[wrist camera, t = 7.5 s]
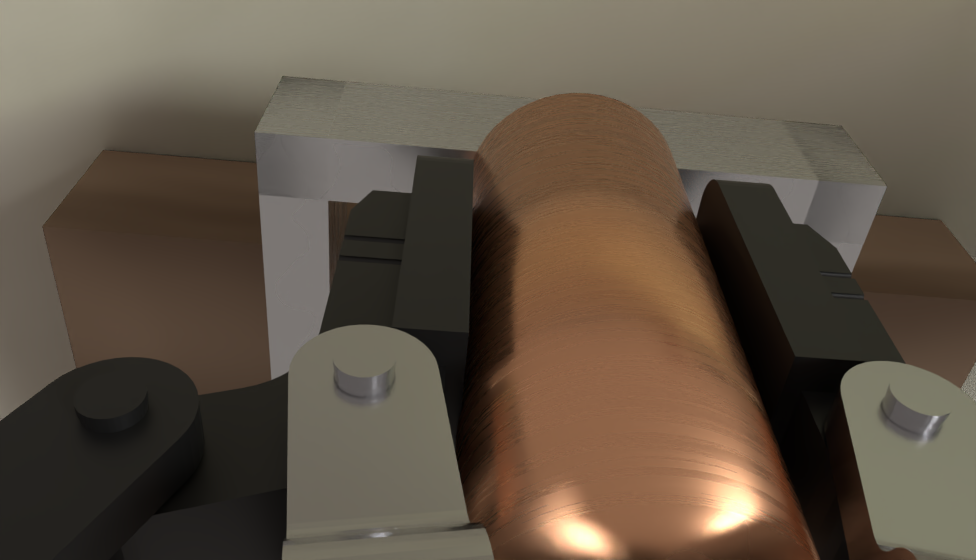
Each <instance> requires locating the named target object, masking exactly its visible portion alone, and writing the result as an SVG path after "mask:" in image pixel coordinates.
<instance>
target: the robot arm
mask: <svg viewBox="0 0 976 560" xmlns="http://www.w3.org/2000/svg"><path fill="white" fill-rule="evenodd" d="M473 175H474V160H472V159H460V158H448V157H435V156H423V155H417V160H416V167H415V173H414V180H413V187H412V193H404V192H391V191H378V190H372V191H371V192H370V193H369V194H368V195H367V196H366V197H365V198H363V199H362V200H361V201H360V202H359V203H358V204H357V205H356V206H355V207H353V208H352V209H351V210H350V214H349V218H348V222H347V226H346V230H345V234H344V240H343V242H342V246H341V250H340V254H339V260H338V261H337V265H336V269H335V273H334V277H333V281H332V285H331V289H330V293H329V297H328V301H327V305H326V308H325V312H324V316H323V320H322V324H321V328H320V332H319V335H318V336H316V337H314V338H312V339H311V340H309V341H308V342H306V343H305V344H304V345H303V346H302V347H301V348H300V349H299V350H298V351H297V353H296V354H295V356H294V357H293V359H292V361H291V364H290V367H289V371H288V372H287V373H285V374H283V375H281V376H279V377H277V378H275V379H272V380H270V381H267V382H264V383H261V384H258V385H254V386H249V387H244V388H239V389H233V390H227V391H221V392H215V393H208V394H202V395H198V391H197V388H196V386H195V384H194V382H193V381H192V380H191V378H190V377H189V376H188V375H187V374H186V373H185V372H183V371H182V370H181V369H179V368H177V367H175V366H173V365H171V364H169V363H166V362H163V361H160V360H156V359H150V358H142V357H122V358H113V359H107V360H102V361H98V362H94V363H90V364H87V365H85V366H82V367H79V368H77V369H74V370H72V371H70V372H68V373H66V374H64V375H62V376H61V377H59V378H58V379H56V380H55V381H53V382H52V383H50V384H49V385H48V386H46V387H45V388H44V389H42V390H41V391H40V392H38V393H37V394H36V395H34V396H33V397H32V398H30V399H29V400H28V401H26V402H25V403H24V404H22V405H21V406H20V407H18V408H17V409H16V410H14V411H13V412H12V413H10V414H9V415H8V416H6V417H5V418H4V419H2V420H1V421H0V560H494V556H493V552H492V548H491V544H490V540H489V537H488V534H487V532H486V529H485V527H484V526H483V524H482V523H481V522H476V523H470V521H469V518H468V514H467V509H466V504H465V499H464V494H463V489H462V484H461V479H460V474H459V469H458V464H457V459H456V454H455V448H456V432H457V427H458V421H459V417H460V415H461V408H462V398H463V388H464V378H465V367H466V357H467V347H468V337H469V312H470V278H471V244H472V210H473ZM696 221H697V224H698V226H699V229H700V232H701V234H702V237H703V240H704V243H705V245H706V248H707V251H708V254H709V256H710V259H711V262H712V265H713V267H714V270H715V273H716V276H717V278H718V281H719V284H720V286H721V289H722V292H723V295H724V297H725V300H726V303H727V306H728V308H729V311H730V314H731V317H732V319H733V322H734V325H735V328H736V330H737V333H738V336H739V339H740V341H741V344H742V347H743V349H744V352H745V355H746V358H747V360H748V363H749V366H750V369H751V371H752V374H753V377H754V380H755V382H756V385H757V388H758V391H759V393H760V396H761V399H762V401H763V404H764V407H765V410H766V412H767V415H768V418H769V421H770V423H771V426H772V429H773V432H774V434H775V437H776V440H777V443H778V445H779V448H780V451H781V453H782V456H783V459H784V462H785V464H786V467H787V470H788V473H789V475H790V478H791V481H792V484H793V486H794V489H795V492H796V495H797V497H798V500H799V503H800V505H801V508H802V511H803V514H804V516H805V519H806V522H807V525H808V527H809V530H810V533H811V536H812V538H813V541H814V544H815V547H816V549H817V552H818V555H819V557H820V560H976V402H975V401H974V400H973V399H972V398H971V397H970V396H969V395H967V394H966V393H965V392H964V391H962V390H961V389H960V388H959V387H957V386H955V385H954V384H952V383H951V382H949V381H948V380H946V379H944V378H942V377H940V376H938V375H936V374H934V373H931V372H929V371H927V370H924V369H921V368H918V367H915V366H912V365H908V364H906V363H905V361H904V360H903V358H902V356H901V355H900V353H899V351H898V350H897V348H896V346H895V345H894V343H893V341H892V340H891V338H890V336H889V335H888V333H887V331H886V330H885V328H884V326H883V325H882V323H881V321H880V320H879V318H878V316H877V315H876V313H875V311H874V310H873V308H872V306H871V305H870V303H869V301H868V300H864V293H863V291H862V290H861V288H860V286H859V285H858V283H857V281H856V280H855V279H853V278H851V275H852V273H851V271H850V270H849V268H848V266H847V265H846V263H845V261H844V260H843V258H842V256H841V255H840V253H839V251H838V250H837V248H836V247H835V246H833V245H832V244H831V243H830V242H828V241H827V240H826V239H825V238H823V237H822V236H821V235H820V234H818V233H817V232H816V231H815V230H813V229H812V228H811V227H810V226H808V225H807V224H794V223H793V222H792V220H791V219H790V217H789V215H788V213H787V211H786V209H785V208H784V206H783V204H782V202H781V200H780V198H779V197H778V195H777V193H776V191H775V189H774V188H773V186H772V185H770V184H766V183H753V182H741V181H728V180H716V179H712V180H710V181H709V182H708V184H707V185H706V187H705V189H704V192H703V195H702V198H701V202H700V205H699V209H698V213H697V217H696Z"/></svg>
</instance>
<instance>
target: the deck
mask: <svg viewBox="0 0 976 560" xmlns="http://www.w3.org/2000/svg"><path fill="white" fill-rule="evenodd" d="M357 204H358V203H351V202H347V222H348V218H349V214H350V210H351V209H352V208H353V207H355V206H356V205H357ZM43 231H44V235H45V239H46V243H47V248H48V252H49V256H50V260H51V264H52V268H53V273H54V277H55V281H56V285H57V289H58V293H59V298H60V302H61V306H62V310H63V314H64V318H65V322H66V327H67V331H68V335H69V339H70V343H71V347H72V352H73V356H74V360H75V364H76V368H79V367H82V366H85V365H87V364H90V363H94V362H98V361H102V360H107V359H113V358H122V357H142V358H150V359H156V360H160V361H163V362H166V363H169V364H171V365H173V366H175V367H177V368H179V369H181V370H182V371H183V372H185V373H186V374H187V375H188V376H189V377H190V378H191V380H192V381H193V382H194V384H195V386H196V388H197V391H198V395H202V394H208V393H215V392H221V391H227V390H233V389H239V388H244V387H249V386H254V385H258V384H261V383H264V382H267V381H270V380H271V365H270V350H269V336H268V321H267V307H266V292H265V277H264V263H263V248H262V234H261V219H260V205H259V190H258V175H257V163H250V162H238V161H227V160H215V159H203V158H191V157H179V156H167V155H155V154H143V153H131V152H119V151H107V150H103V151H102V152H101V154H100V155H99V156H98V157H97V159H96V160H95V161H94V162H93V164H92V165H91V166H90V167H89V169H88V170H87V171H86V172H85V174H84V175H83V176H82V177H81V179H80V180H79V181H78V182H77V184H76V185H75V186H74V188H73V189H72V190H71V191H70V193H69V194H68V195H67V196H66V198H65V199H64V200H63V201H62V203H61V204H60V205H59V206H58V208H57V209H56V210H55V211H54V213H53V214H52V215H51V216H50V218H49V219H48V220H47V221H46V223H45V224H44V225H43ZM851 278H853V279H855V280H856V281H857V283H858V285H859V286H860V288H861V290H862V291H863V293H864V300H868V301H869V303H870V305H871V306H872V308H873V310H874V311H875V313H876V315H877V316H878V318H879V320H880V321H881V323H882V325H883V326H884V328H885V330H886V331H887V333H888V335H889V336H890V338H891V340H892V341H893V343H894V345H895V346H896V348H897V350H898V351H899V353H900V355H901V356H902V358H903V360H904V361H905V363H906V364H908V365H912V366H915V367H918V368H921V369H924V370H927V371H929V372H931V373H934V374H936V375H938V376H940V377H942V378H944V379H946V380H948V381H949V382H951V383H952V384H954V385H955V386H957V387H959V388H960V389H961V387H962V385H963V383H964V382H965V380H966V378H967V376H968V374H969V373H970V371H971V369H972V367H973V365H974V363H975V362H976V263H975V262H974V260H973V259H972V258H971V257H970V255H969V254H968V253H967V252H966V250H965V249H964V248H963V247H962V246H961V244H960V243H959V242H958V241H957V239H956V238H955V237H954V236H953V234H952V233H951V232H950V231H949V229H948V228H947V227H946V226H945V224H944V223H943V222H942V221H941V220H929V219H917V218H905V217H893V216H881V215H875V217H874V220H873V222H872V224H871V227H870V229H869V232H868V234H867V237H866V239H865V242H864V244H863V246H862V249H861V251H860V254H859V256H858V259H857V261H856V263H855V266H854V268H853V271H852V275H851Z"/></svg>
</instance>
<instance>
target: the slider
mask: <svg viewBox="0 0 976 560" xmlns="http://www.w3.org/2000/svg"><path fill="white" fill-rule="evenodd" d="M255 146H256V161H257V175H258V190H259V205H260V219H261V234H262V248H263V263H264V277H265V292H266V307H267V321H268V336H269V350H270V365H271V380H272V379H275V378H277V377H279V376H281V375H283V374H285V373H287V372H288V371H289V367H290V364H291V361H292V359H293V357H294V356H295V354H296V353H297V351H298V350H299V349H300V348H301V347H302V346H303V345H304V344H305V343H306V342H308V341H309V340H311V339H312V338H314V337H316V336H318V335H319V332H320V328H321V324H322V320H323V316H324V312H325V308H326V305H327V301H328V297H329V293H330V289H331V285H332V281H333V277H334V273H335V269H336V265H337V261H338V260H339V254H340V250H341V246H342V242H343V240H344V234H345V230H346V226H347V202H351V203H359V202H360V201H361V200H362V199H363V198H365V197H366V196H367V195H368V194H369V193H370V192H371V191H372V190H378V191H391V192H404V193H412V187H413V180H414V173H415V167H416V160H417V155H423V156H435V157H448V158H460V159H472V160H474V175H473V210H472V244H471V278H470V312H469V337H468V347H467V357H466V367H465V378H464V388H463V398H462V408H461V415H460V417H459V421H458V427H457V432H456V448H455V454H456V459H457V464H458V469H459V474H460V479H461V484H462V489H463V494H464V499H465V504H466V509H467V514H468V518H469V521H470V523H476V522H481V523H482V524H483V526H484V527H485V529H486V532H487V534H488V537H489V540H490V544H491V548H492V552H493V556H494V560H820V557H819V555H818V552H817V549H816V547H815V544H814V541H813V538H812V536H811V533H810V530H809V527H808V525H807V522H806V519H805V516H804V514H803V511H802V508H801V505H800V503H799V500H798V497H797V495H796V492H795V489H794V486H793V484H792V481H791V478H790V475H789V473H788V470H787V467H786V464H785V462H784V459H783V456H782V453H781V451H780V448H779V445H778V443H777V440H776V437H775V434H774V432H773V429H772V426H771V423H770V421H769V418H768V415H767V412H766V410H765V407H764V404H763V401H762V399H761V396H760V393H759V391H758V388H757V385H756V382H755V380H754V377H753V374H752V371H751V369H750V366H749V363H748V360H747V358H746V355H745V352H744V349H743V347H742V344H741V341H740V339H739V336H738V333H737V330H736V328H735V325H734V322H733V319H732V317H731V314H730V311H729V308H728V306H727V303H726V300H725V297H724V295H723V292H722V289H721V286H720V284H719V281H718V278H717V276H716V273H715V270H714V267H713V265H712V262H711V259H710V256H709V254H708V251H707V248H706V245H705V243H704V240H703V237H702V234H701V232H700V229H699V226H698V224H697V221H696V217H697V213H698V209H699V205H700V202H701V198H702V195H703V192H704V189H705V187H706V185H707V184H708V182H709V181H710V180H712V179H716V180H728V181H741V182H753V183H766V184H770V185H772V186H773V188H774V189H775V191H776V193H777V195H778V197H779V198H780V200H781V202H782V204H783V206H784V208H785V209H786V211H787V213H788V215H789V217H790V219H791V220H792V222H793V223H794V224H807V225H808V226H810V227H811V228H812V229H813V230H815V231H816V232H817V233H818V234H820V235H821V236H822V237H823V238H825V239H826V240H827V241H828V242H830V243H831V244H832V245H833V246H835V247H836V248H837V250H838V251H839V253H840V255H841V256H842V258H843V260H844V261H845V263H846V265H847V266H848V268H849V270H850V271H851V273H852V271H853V268H854V266H855V263H856V261H857V259H858V256H859V254H860V251H861V249H862V246H863V244H864V242H865V239H866V237H867V234H868V232H869V229H870V227H871V224H872V222H873V220H874V217H875V215H876V212H877V210H878V207H879V205H880V203H881V200H882V198H883V195H884V193H885V190H886V188H887V186H886V184H885V183H884V182H883V180H882V179H881V178H880V176H879V175H878V174H877V172H876V171H875V170H874V168H873V167H872V166H871V164H870V163H869V162H868V160H867V159H866V158H865V156H864V155H863V154H862V152H861V151H860V150H859V148H858V147H857V146H856V144H855V143H854V142H853V140H852V139H851V138H850V136H849V135H848V134H847V132H846V131H845V130H844V128H843V127H842V126H838V125H827V124H816V123H804V122H793V121H782V120H771V119H760V118H748V117H737V116H726V115H715V114H703V113H692V112H681V111H670V110H659V109H647V108H636V107H631V106H629V105H627V104H625V103H622V102H620V101H618V100H615V99H612V98H608V97H605V96H601V95H594V94H586V93H570V94H559V95H555V96H550V97H545V98H542V99H535V98H524V97H513V96H502V95H490V94H479V93H468V92H457V91H446V90H434V89H423V88H412V87H401V86H389V85H378V84H367V83H356V82H345V81H333V80H322V79H311V78H300V77H289V76H283V77H282V79H281V81H280V83H279V85H278V87H277V89H276V91H275V93H274V95H273V97H272V99H271V101H270V103H269V105H268V107H267V109H266V110H265V112H264V114H263V116H262V118H261V120H260V122H259V124H258V126H257V128H256V130H255Z"/></svg>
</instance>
